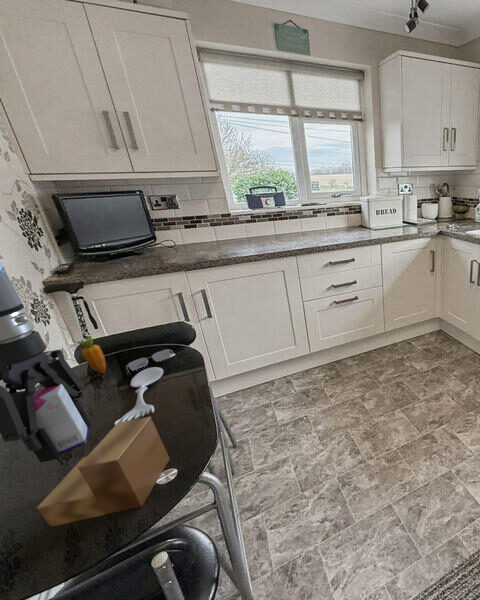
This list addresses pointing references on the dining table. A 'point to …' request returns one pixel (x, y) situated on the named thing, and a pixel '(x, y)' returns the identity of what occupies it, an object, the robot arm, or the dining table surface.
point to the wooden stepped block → (110, 475)
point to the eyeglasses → (143, 361)
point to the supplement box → (59, 418)
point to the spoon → (141, 382)
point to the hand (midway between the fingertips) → (67, 442)
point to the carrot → (93, 355)
